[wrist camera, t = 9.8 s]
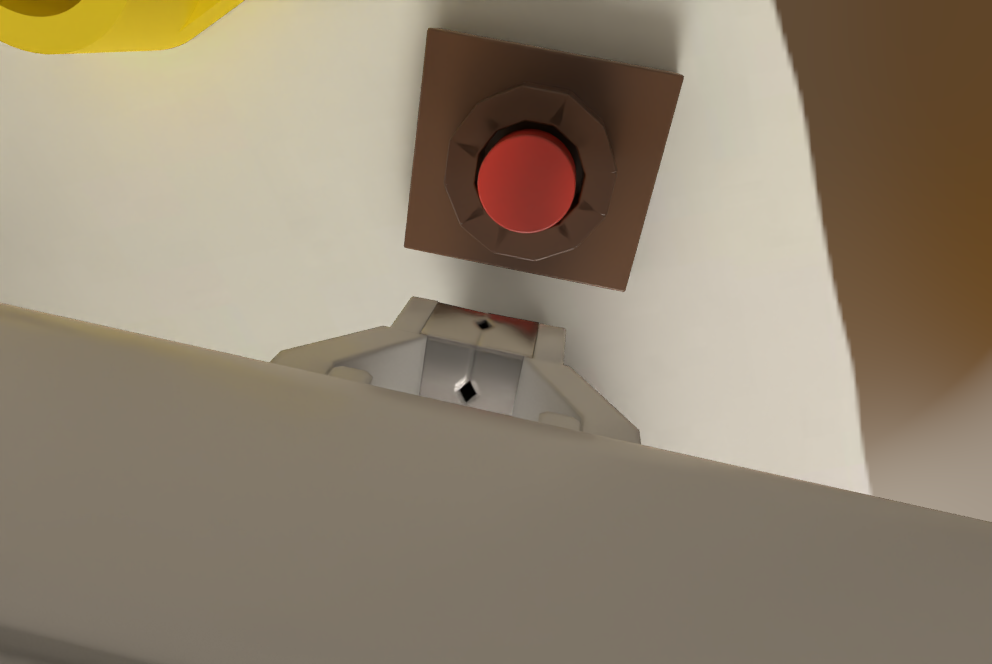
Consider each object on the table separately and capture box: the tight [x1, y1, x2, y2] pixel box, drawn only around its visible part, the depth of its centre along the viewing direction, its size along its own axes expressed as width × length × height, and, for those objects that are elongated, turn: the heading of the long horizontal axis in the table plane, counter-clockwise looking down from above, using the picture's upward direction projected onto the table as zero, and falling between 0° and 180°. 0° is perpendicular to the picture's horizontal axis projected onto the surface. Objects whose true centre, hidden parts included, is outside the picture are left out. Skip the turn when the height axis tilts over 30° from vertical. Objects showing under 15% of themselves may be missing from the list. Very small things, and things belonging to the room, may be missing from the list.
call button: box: [477, 129, 576, 233], centre depth 24 cm, size 4×4×2 cm
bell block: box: [404, 28, 684, 292], centre depth 26 cm, size 10×9×4 cm
